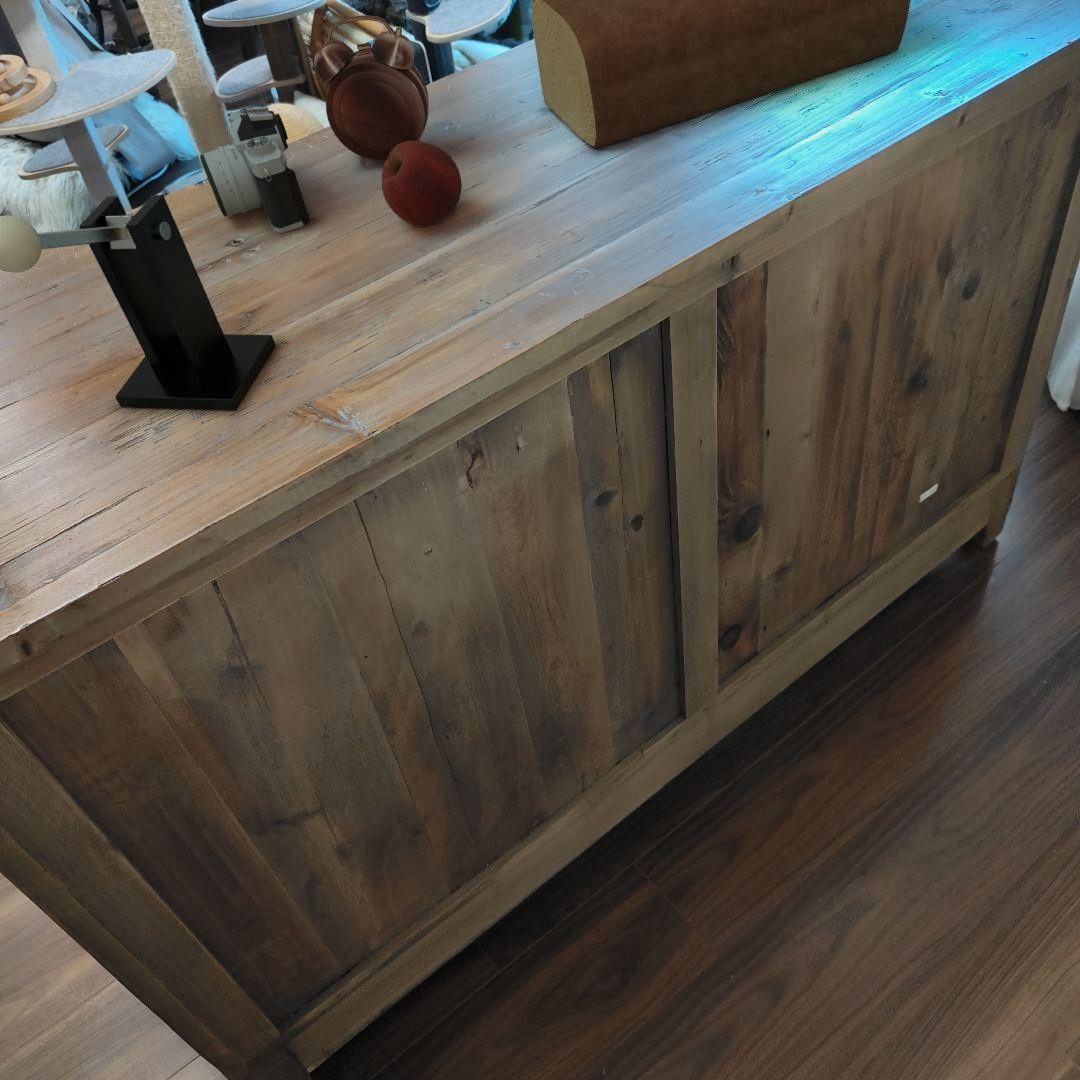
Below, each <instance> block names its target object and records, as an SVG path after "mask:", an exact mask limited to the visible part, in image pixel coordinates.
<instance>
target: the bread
mask: <svg viewBox="0 0 1080 1080" xmlns="http://www.w3.org/2000/svg"><path fill="white" fill-rule="evenodd" d="M910 6H911V0H532V3H531V24H532V32H533V40H534V44H535V51H536V57H537V58H536V59H537V64H538V71H539V72H538V73H539V79H540V86H541V92H542V96H543V97H542V98H543V103H544V106H546V107H548V108H549V109H550V110H552V111H553V112H554V113H555V114H556V115H557V116H558V117H559V118H560V120H562V121H563V122H564V124H566V126H568V127H569V128H570V129H571V130H572V131H573V132H574V133H575V134H576V135H577V136H579V138H581V140H583V141H584V143H586V144H588V145H590V146H592V147H594V148H595V149H599V148H603V147H606V146H609V145H612V144H616V143H619V142H623V141H625V140H628V139H632V138H634V137H635V138H636V137H638V136H641V135H643V134H647V133H649V132H650V133H651V132H653V131H657V130H659V129H661V128H665V127H668V126H671V125H674V124H677V123H681V122H683V121H686V120H689V119H692V118H696V117H699V116H703V115H706V114H710V113H712V112H715V111H718V110H721V109H724V108H727V107H730V106H733V105H736V104H738V103H741V102H744V101H748V100H750V99H753V98H757V97H760V96H763V95H766V94H770V93H773V92H777V91H780V90H782V89H786V88H789V87H791V86H795V85H798V84H801V83H804V82H806V81H809V80H812V79H815V78H818V77H821V76H824V75H827V74H829V73H832V72H833V73H834V72H836V71H839V70H842V69H846V68H848V67H852V66H855V65H858V64H861V63H864V62H866V61H870V60H873V59H875V58H879V57H881V56H884V55H887V54H889V53H892V52H895V51H898V50H899V47H900V45H901V44H902V40H903V37H904V33H905V31H906V25H907V22H908V16H909V12H910Z"/></svg>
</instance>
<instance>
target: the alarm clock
mask: <svg viewBox="0 0 1080 1080" xmlns="http://www.w3.org/2000/svg"><path fill="white" fill-rule="evenodd" d="M360 21H371V22H373V21H374V22H378V23H380V24H382V25H383V26H384V27H385V28H386V30H385V31H382V32H380V33H379V34H378V35H377V36H376V38H375V39H374V42H373V43H372V44H371V43H370V42H366V43H358V44H357V45H356V49H357V50H356V51H354V49H352V48H351V47H350V46H349V45H348V44H346V42H344V41H342V40H337V39H335V40H331V39H332V34H333V31H334V30H335V29H336V28H338V27H340V26H343V25H345V24H348V23H352V22H360ZM315 46H316V48H317V53H316V54H315V57H314V61H313V62H314V63H313V66H314V70H315V72H316V74H317V76H318V77H319V78H320V80H321V81H322V82H323V83H326V82H328V81H330V82H329V84H328V88H327V94H326V99H325V114H326V117H327V121H328V124H329V127H330V128H331V130H332V132H333V134H334V136H335V137H336V138H337V140H338V141H339V143H341V144H342V145H343V146H344V147H345V148H347V149H348V150H349V151H351V152H352V153H354V154H355V155H356V156H359V157H362V158H361V161H360V163H359V164H360V166H362V167H363V166H365V165H366V164H365V162H366V160H372V161H376V162H377V161H378V162H386V160H387V158H388V156H389V154H390V152H391V151H392V149H393V148H394V147H395V146H396V145H398V144H400V143H402V142H405V141H419V142H421V140H420V139H421V138H422V135H423V133H424V132H425V129H426V127H427V124H428V119H429V109H430V107H429V105H430V103H429V102H430V101H429V93H428V88H427V85H426V82H425V80H424V78H423V76H422V74H421V73H420V71H419V70H418V69H417V67H416V66H415V65H414V63H415V55H416V54H415V47H414V45H413V43H412V41H411V40H410V39H409V37H407V36H406V35H404V34H403V28H402V27H401V26H397V27H396V28H395V29H393V27H392V26H391V25H390V24H389V23H388V22H387V20H386V19H385V18H382V16H376V15H365V14H362V15H354V16H348V17H345V18H342V19H340V20H338V21H336V22H333V23H332V24H331V25H330V27H329V28H328V33H327V37H326V41H325V42H324V43H323V42H322V41H321V40H316V41H315Z"/></svg>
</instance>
